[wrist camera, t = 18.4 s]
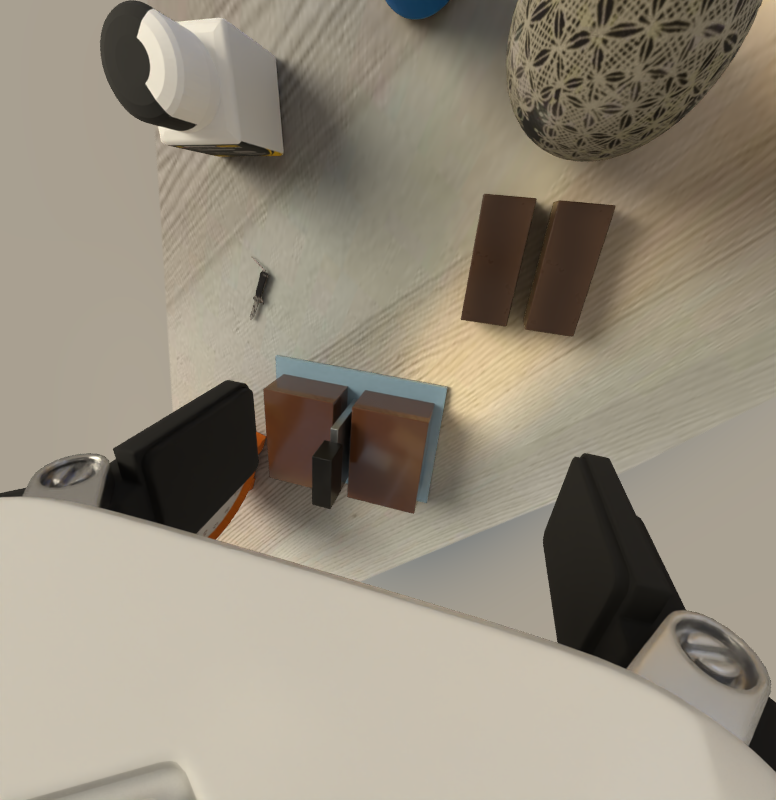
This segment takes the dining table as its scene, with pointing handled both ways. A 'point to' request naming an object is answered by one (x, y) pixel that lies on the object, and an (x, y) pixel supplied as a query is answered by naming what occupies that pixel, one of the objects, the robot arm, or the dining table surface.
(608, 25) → the decorative egg
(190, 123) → the medicine bottle
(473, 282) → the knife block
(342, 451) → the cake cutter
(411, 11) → the beverage can
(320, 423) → the cake
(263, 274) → the knife
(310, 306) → the dining table surface
